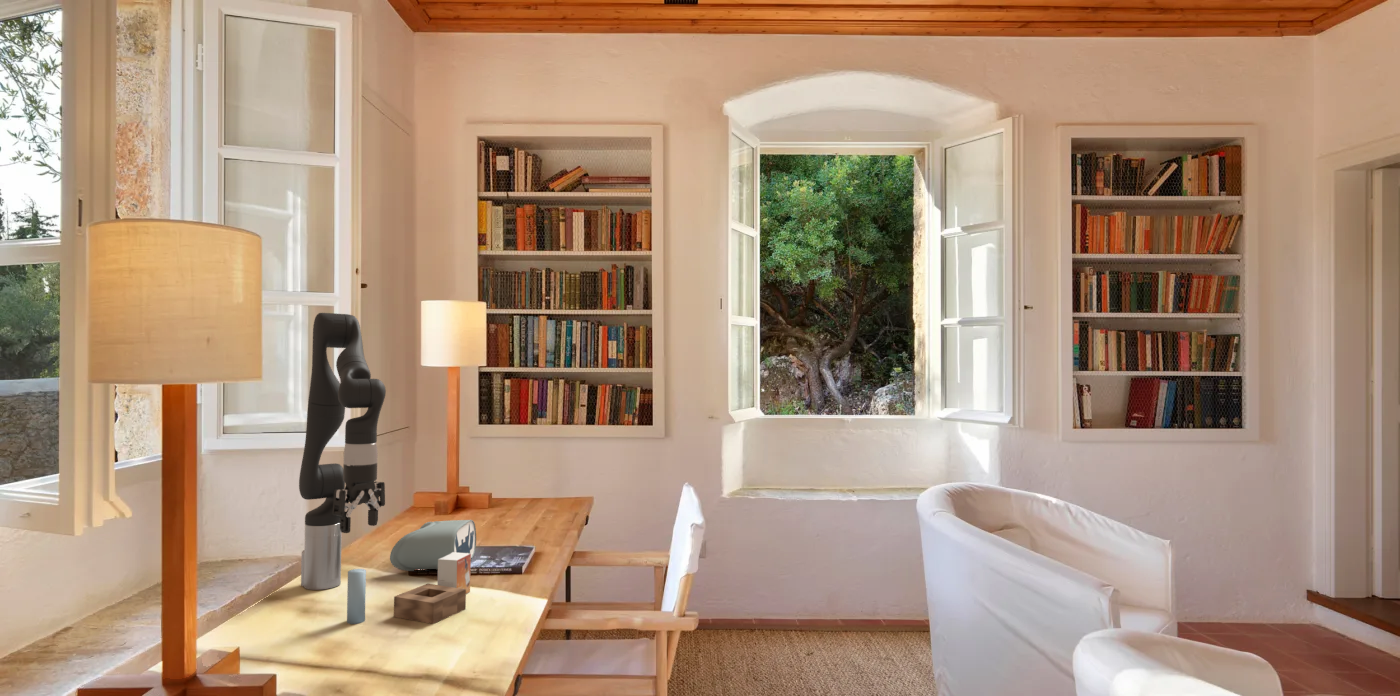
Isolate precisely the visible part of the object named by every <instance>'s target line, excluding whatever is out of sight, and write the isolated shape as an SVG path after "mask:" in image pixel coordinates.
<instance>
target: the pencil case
mask: <svg viewBox="0 0 1400 696" xmlns="http://www.w3.org/2000/svg"><path fill="white" fill-rule="evenodd" d="M476 547H477V528H476V523H475V521H474V520H472V519H459V520H458V519H456V520H453V519H452V520H441V521H439V520H438V521H435V520H434V521H427V522H425V523H424V524H423V525H421V527H420V528H418V529H416V530H414V531H411V532H409V533H407V534H405V535H404V536H402V537H401V538H400V539H399V540H398V541H397V542H396V543H395V544H394V546H393V547H392V548H391V549H392V550H391V551H390V554H389V560H390V563H391V565H392V566H393V567H394V568H397V570H401V571H405V572H415V571H414V570H415V569H420V570H421V569H422V570H423V569H436V570H438V559H440V558H443V557H445V556H447V555H449V554H451V553H452V552H457V553H470V554H471V558H472V559H473V557H474V555H475V552H476Z"/></svg>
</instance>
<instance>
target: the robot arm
mask: <svg viewBox="0 0 1400 696" xmlns="http://www.w3.org/2000/svg"><path fill="white" fill-rule="evenodd" d="M362 336H363V335H362V332H361V325H360V322H359V320H358V318H357V317H356V316H355V315H353V314H348V313H333V312H319V313H317V314H316V316H315V317H314V320H313V325H312V350H311V351H312V354H311V356H312V358H311V359H312V360H311V376H310V384H309V393H308V399H307V400H308V401H307V411H306V412H307V413H306V429H305V431H306V432H305V440H304V441H305V442H304V448H303V454H302V458H301V459H302V460H301V466H300V471H299V479H298V490H299V494H300V496H301V498H302V499H304V500H306V501H307V500H310V501H311V500H318V499H319V500H321V499H325V500H324V501H323V502H322V503H321V504H320V505H318V506H317V507H316V508H314V509H311V510H310V511H308V512H306V514H305V516H304V550H301V560H300V561H301V564H300V565H301V566H300V567H301V568H300V569H301V571H300V574H301V575H300V576H301V577H300V578H301V579H300V586H302V587H303V588H304V589H306V590H312V591H313V590H316V591H317V590H318V591H319V590H327V589H332V588H335V587H337V586H340V585H341V582H342V581H341V578H342V576H341V575H342V538H343V537H342V534H349V533H351V522H352V521H351V519H352V518H351V515H352V513H353V511H354V510H355V509H357V506H359V505H362V504H365V505H366V507H367V508H368V511H367V525H368V526H371V527H375V526H378V525H377V524H378V521H379V510H380V509H381V507H384V506H385V505H386V490H385V489H386V486H385V485H386V483H385V482H383V481H377V480H378V453H379V452H378V444H377V441H378V423H379V418H380V414H381V410H382V409H383V408H382V407H383V406H384V405H383V404H384V402H385V399H386V391H387V390H386V386H385V384H384V382H383V381H382V380H380V378H379V379H378V378H371V377H372V376H371V375H372V374H371V371H370V369H369V365H368V364H367V363H368V362H367V361H366V358H365V354H364V345H363V343H364V342H363V338H362ZM327 348H333V349H334V348H335V349H340V348H341V349H343V350H342V351H341V352H340V353H339V355H338V356H337V357H336V358H337V359H336V365H335V366H336V370H337V374H338V376H339V380H340V381H339V380H338V378H337V376H336V375H335V373H334V372H333V369H332V367H331V364H330V362H329V359H328V353H327ZM346 408H347V409H367V410H366V411H365V412H364V414H363V415H361V416H357V417H353V418H349V419H348V420H347V421H346V422H345V429H344V432H345V433H344V434H345V435H344V443H345V444H344V447H343V466H342V465H341V464H340V463H325V464H324V463H323V464H320V460H321V457H322V454H323V452H324V449H325V447H326V446H327V444H328V443H329V442H330V440H331V439H332V438H333V437H334V435H335V434H336V433H337V431H338V430H339V429H340V428H341V426H342V424H343V423H344V421H345V420H344V419H345V415H346V414H345V412H346Z"/></svg>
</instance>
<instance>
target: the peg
mask: <svg viewBox="0 0 1400 696" xmlns="http://www.w3.org/2000/svg"><path fill="white" fill-rule="evenodd" d="M366 578H367V570H366V569H364V568H354V569H351V570H348V571H347V595H346V596H347V599H346V601H347V602H346V603H347V605H346V623H347V624H350V625H355V624H356V625H357V624H361V623H364V622H366V589H367V588H366V587H367V586H366V585H367V582H366V580H367V579H366Z"/></svg>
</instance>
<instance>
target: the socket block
mask: <svg viewBox="0 0 1400 696" xmlns="http://www.w3.org/2000/svg"><path fill="white" fill-rule="evenodd" d="M466 599H467V594H466V589H460V588H454V587H447V586H441V585H437V584H433V583H426V584H423V585H420V586H418V587H415V588H413V589H410V590H407V591H404V592H402V593H400V594H397V595H394V596H393V618H398V619H405V620H409V621H415V622H419V623H420V622H421V623H427V624H432V625H434V624H436V623H438V622H441V621H443V620H445V619H448V618H450V617H452V616H454V615H456V614H458V613H460V612H462V611H465V610H466V607H467V606H466V603H467V602H466V601H467V600H466ZM449 616H450V617H449Z"/></svg>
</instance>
